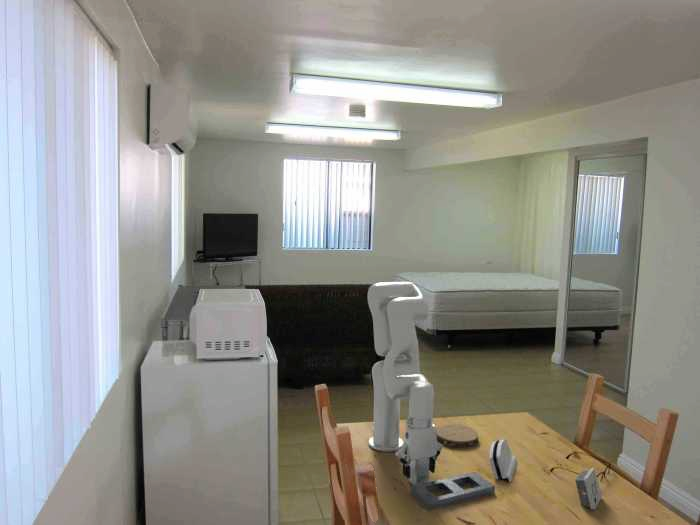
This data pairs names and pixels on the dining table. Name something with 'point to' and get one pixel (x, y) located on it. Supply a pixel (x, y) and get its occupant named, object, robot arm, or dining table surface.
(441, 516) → the dining table surface
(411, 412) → the robot arm
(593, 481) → the electrical switch
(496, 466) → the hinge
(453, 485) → the grey tray with holes
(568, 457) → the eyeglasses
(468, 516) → the dining table surface
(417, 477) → the steel block
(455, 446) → the wood slice
